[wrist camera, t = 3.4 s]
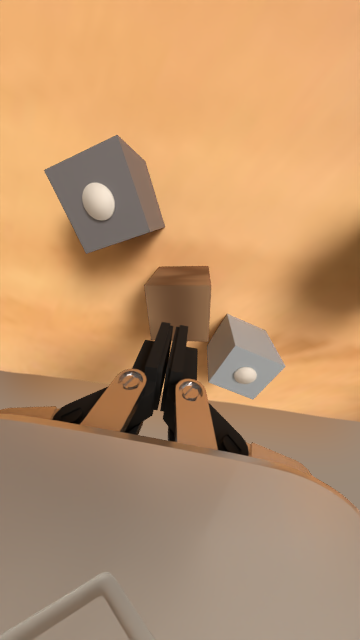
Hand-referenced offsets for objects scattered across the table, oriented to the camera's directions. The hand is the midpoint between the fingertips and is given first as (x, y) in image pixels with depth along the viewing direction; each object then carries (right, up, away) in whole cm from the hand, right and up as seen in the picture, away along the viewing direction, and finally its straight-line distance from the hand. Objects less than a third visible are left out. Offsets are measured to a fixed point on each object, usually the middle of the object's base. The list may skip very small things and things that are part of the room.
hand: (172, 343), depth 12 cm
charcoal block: (-4, +12, +5) cm, 13 cm away
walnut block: (+1, +5, +9) cm, 10 cm away
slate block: (+7, -1, +11) cm, 13 cm away
